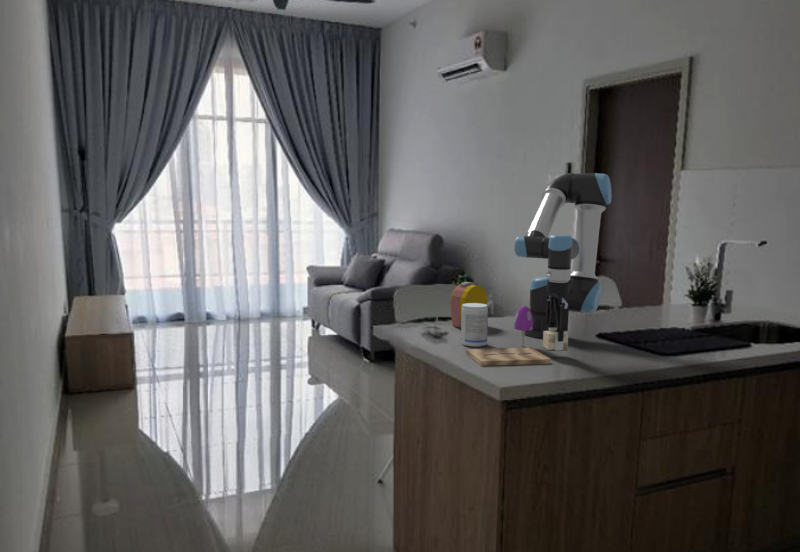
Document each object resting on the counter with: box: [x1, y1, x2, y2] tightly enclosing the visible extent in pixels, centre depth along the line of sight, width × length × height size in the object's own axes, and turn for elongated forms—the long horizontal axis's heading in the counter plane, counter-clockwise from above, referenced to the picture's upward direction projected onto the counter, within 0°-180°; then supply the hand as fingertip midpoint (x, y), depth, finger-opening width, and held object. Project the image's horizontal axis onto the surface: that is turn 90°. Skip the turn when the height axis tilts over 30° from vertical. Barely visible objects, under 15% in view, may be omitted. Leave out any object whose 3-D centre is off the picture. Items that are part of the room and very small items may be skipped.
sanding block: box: [542, 331, 569, 352], centre depth 215 cm, size 7×4×6 cm, turn 101°
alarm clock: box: [449, 281, 489, 329], centre depth 264 cm, size 15×8×18 cm, turn 133°
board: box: [465, 347, 552, 367], centre depth 212 cm, size 24×16×2 cm, turn 101°
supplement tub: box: [460, 303, 489, 348], centre depth 231 cm, size 10×10×15 cm
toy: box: [513, 305, 533, 348], centre depth 229 cm, size 7×7×15 cm
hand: (555, 347), depth 216 cm, fingers closed on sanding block, 4 cm apart
